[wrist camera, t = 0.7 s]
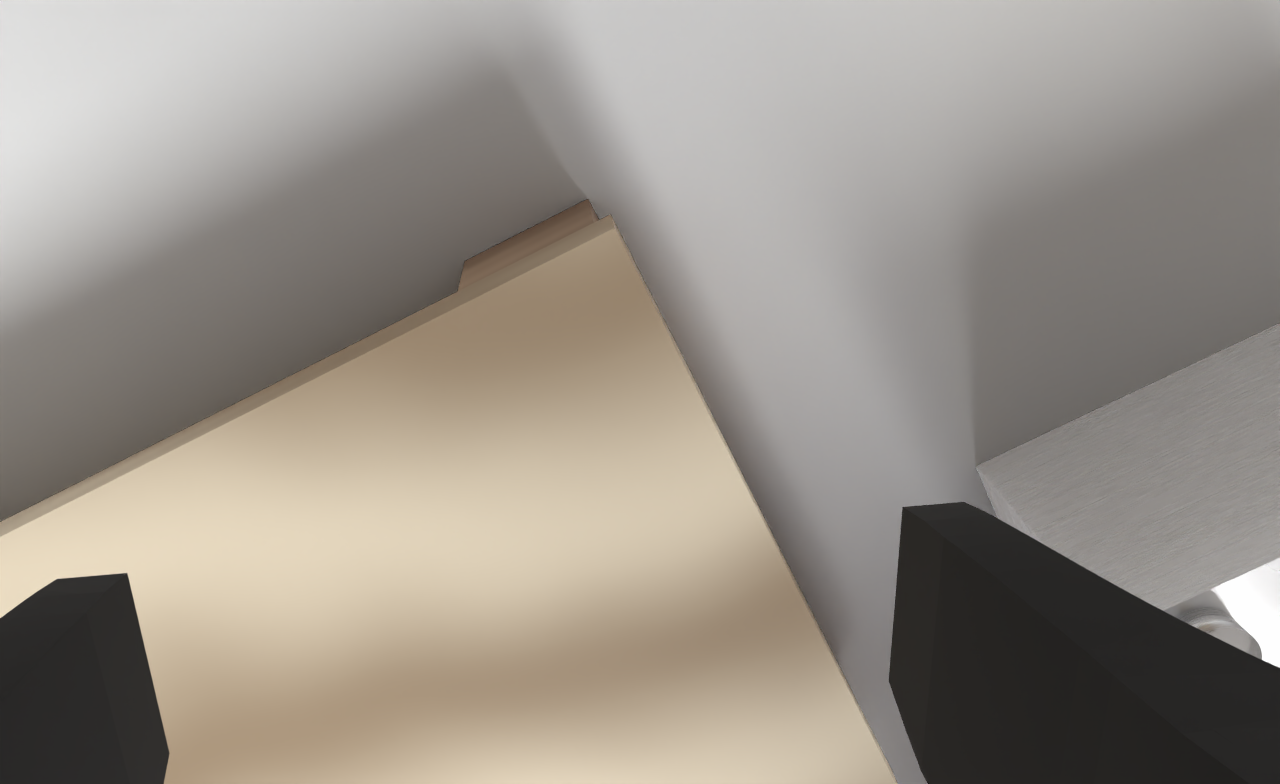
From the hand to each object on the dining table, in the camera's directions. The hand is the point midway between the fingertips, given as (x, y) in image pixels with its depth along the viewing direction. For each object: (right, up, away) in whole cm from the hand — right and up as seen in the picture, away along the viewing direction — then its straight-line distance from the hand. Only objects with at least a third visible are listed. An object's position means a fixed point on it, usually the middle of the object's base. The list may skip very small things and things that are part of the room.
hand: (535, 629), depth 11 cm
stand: (-4, -3, +12) cm, 13 cm away
